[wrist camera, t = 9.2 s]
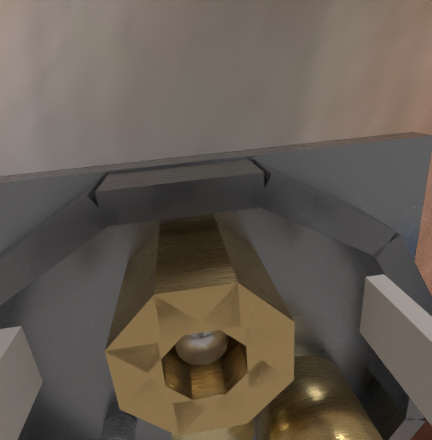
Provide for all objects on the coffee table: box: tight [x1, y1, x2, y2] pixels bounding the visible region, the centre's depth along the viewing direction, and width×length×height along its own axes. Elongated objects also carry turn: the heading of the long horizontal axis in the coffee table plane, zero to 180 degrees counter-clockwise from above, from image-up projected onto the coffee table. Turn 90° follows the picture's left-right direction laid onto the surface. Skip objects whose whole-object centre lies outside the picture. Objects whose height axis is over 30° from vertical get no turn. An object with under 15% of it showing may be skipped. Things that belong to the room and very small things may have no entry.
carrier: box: [0, 132, 432, 440], centre depth 17 cm, size 25×25×8 cm
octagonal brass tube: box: [105, 218, 294, 436], centre depth 14 cm, size 6×6×6 cm
